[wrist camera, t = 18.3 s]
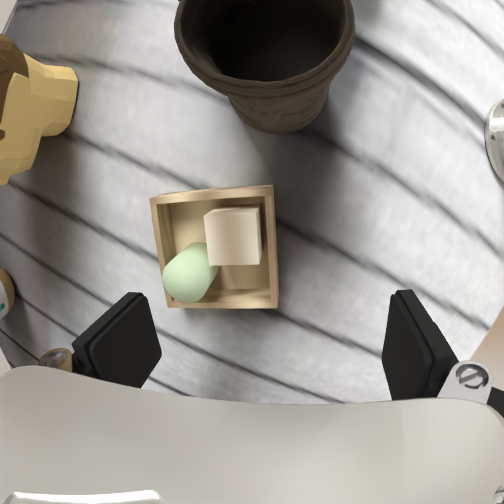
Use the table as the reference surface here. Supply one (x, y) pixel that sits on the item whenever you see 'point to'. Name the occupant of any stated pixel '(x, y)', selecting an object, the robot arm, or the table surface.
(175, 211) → the box
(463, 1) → the table surface
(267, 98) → the beer stein
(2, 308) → the vase
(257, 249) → the cream block
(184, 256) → the green cylinder
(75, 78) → the head
